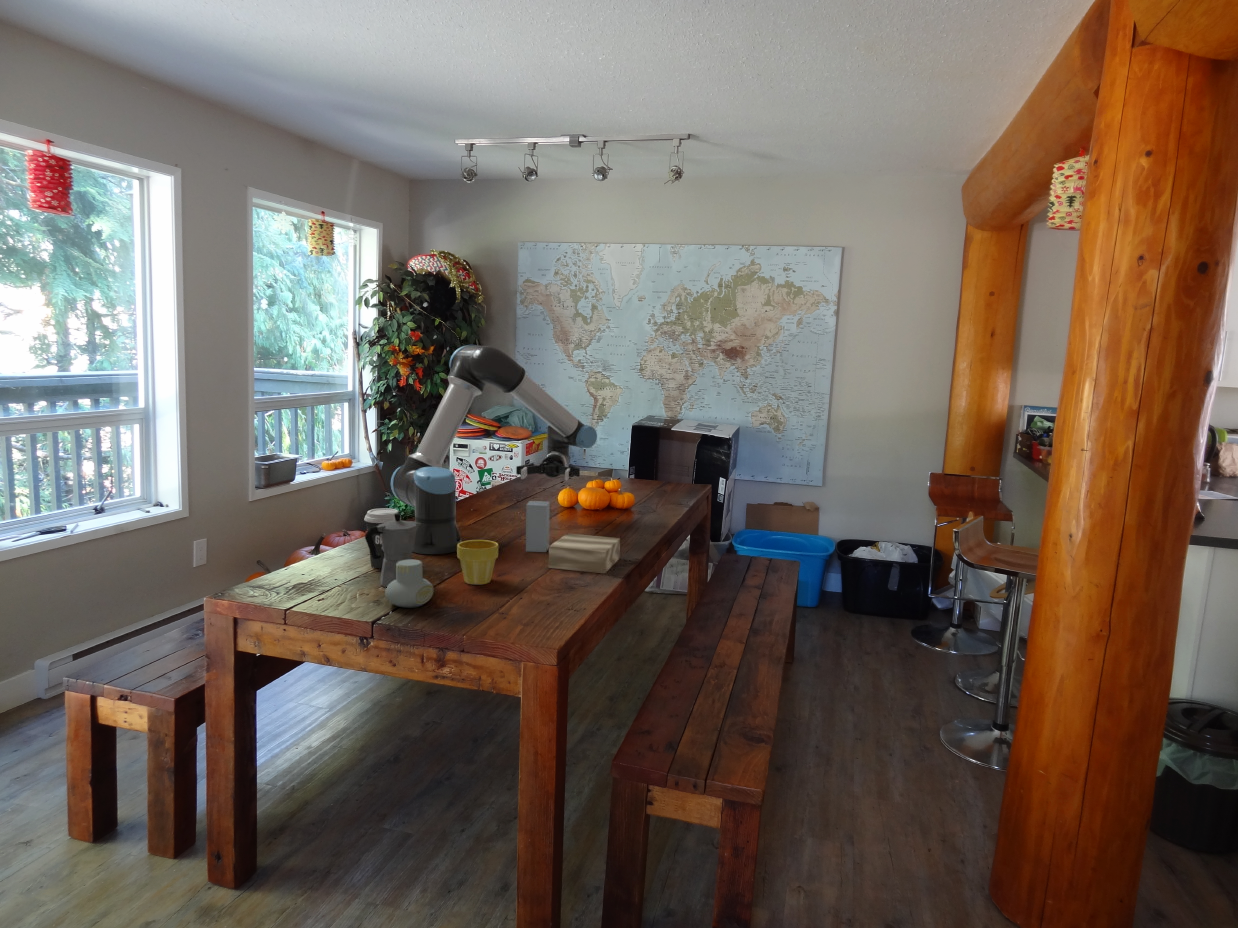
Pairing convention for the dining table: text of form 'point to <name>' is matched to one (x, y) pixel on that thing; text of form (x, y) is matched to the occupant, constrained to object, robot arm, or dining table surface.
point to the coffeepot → (393, 545)
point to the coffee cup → (375, 519)
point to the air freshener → (409, 585)
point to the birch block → (584, 553)
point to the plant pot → (477, 560)
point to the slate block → (537, 526)
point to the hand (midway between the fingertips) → (544, 475)
